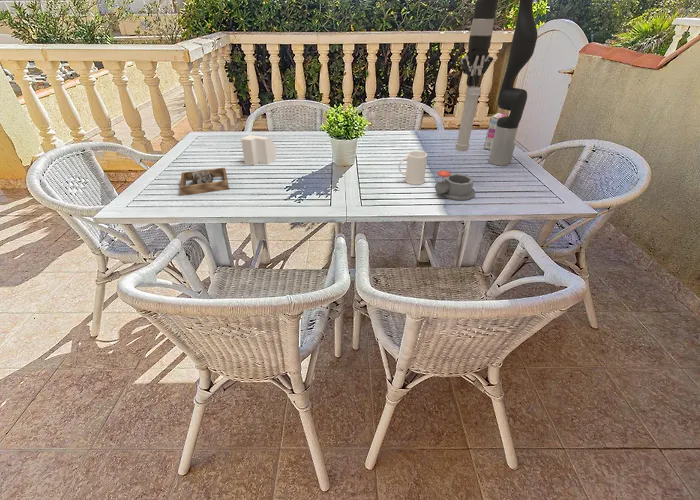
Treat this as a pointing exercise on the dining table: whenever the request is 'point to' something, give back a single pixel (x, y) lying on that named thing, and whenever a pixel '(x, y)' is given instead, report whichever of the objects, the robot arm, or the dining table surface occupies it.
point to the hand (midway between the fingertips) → (472, 86)
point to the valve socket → (455, 186)
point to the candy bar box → (492, 130)
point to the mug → (415, 167)
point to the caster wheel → (201, 177)
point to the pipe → (467, 117)
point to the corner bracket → (258, 150)
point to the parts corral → (205, 186)
